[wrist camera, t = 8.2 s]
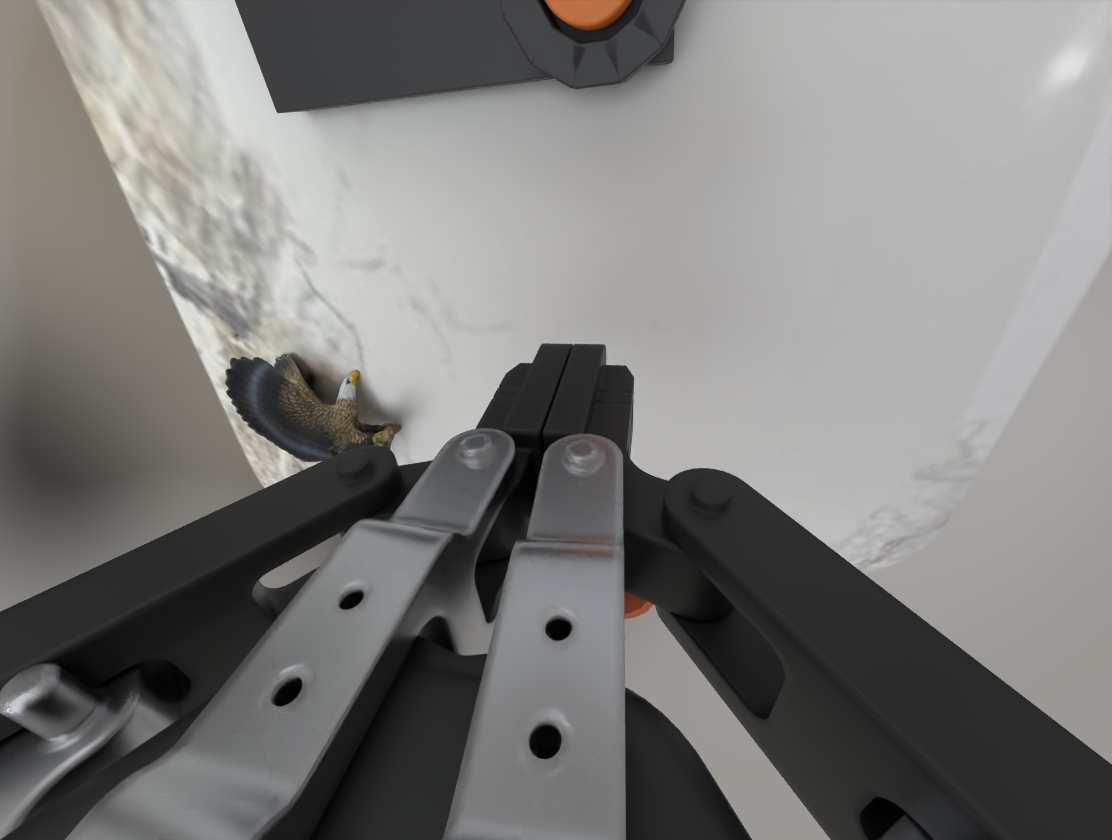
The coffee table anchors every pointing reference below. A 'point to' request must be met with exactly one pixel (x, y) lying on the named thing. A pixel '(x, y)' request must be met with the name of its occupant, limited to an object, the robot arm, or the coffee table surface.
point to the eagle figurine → (300, 410)
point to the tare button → (589, 12)
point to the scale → (441, 47)
